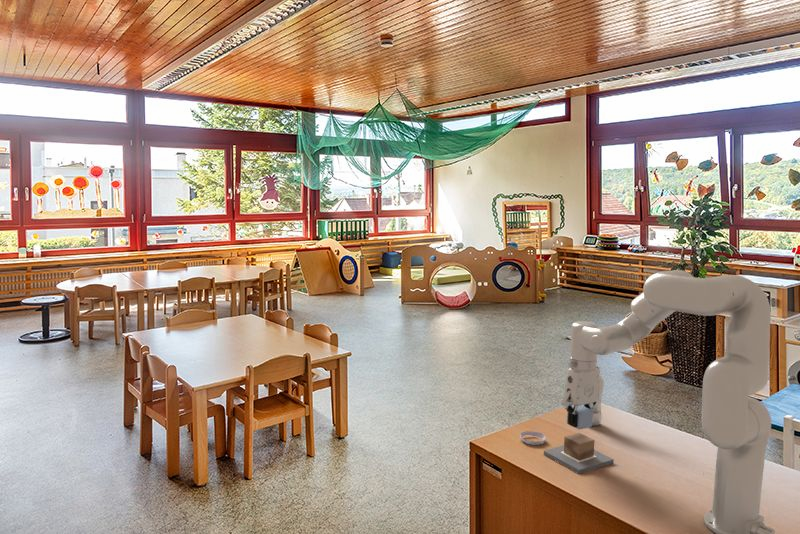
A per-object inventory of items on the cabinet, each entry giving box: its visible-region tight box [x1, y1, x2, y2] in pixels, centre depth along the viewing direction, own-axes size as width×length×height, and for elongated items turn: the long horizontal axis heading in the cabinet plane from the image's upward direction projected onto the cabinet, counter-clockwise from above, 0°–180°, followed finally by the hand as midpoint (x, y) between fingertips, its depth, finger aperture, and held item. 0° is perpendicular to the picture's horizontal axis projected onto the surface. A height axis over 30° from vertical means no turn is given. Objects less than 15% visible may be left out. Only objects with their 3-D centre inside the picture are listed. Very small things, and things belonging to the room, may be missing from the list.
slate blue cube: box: [566, 405, 593, 430], centre depth 173 cm, size 5×5×5 cm
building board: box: [543, 444, 615, 475], centre depth 174 cm, size 14×14×1 cm
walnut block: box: [563, 432, 595, 460], centre depth 174 cm, size 6×6×5 cm
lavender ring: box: [520, 430, 547, 446], centre depth 186 cm, size 8×8×2 cm
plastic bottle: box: [592, 365, 605, 427], centre depth 199 cm, size 6×7×20 cm
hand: (579, 423), depth 173 cm, fingers closed on slate blue cube, 4 cm apart
